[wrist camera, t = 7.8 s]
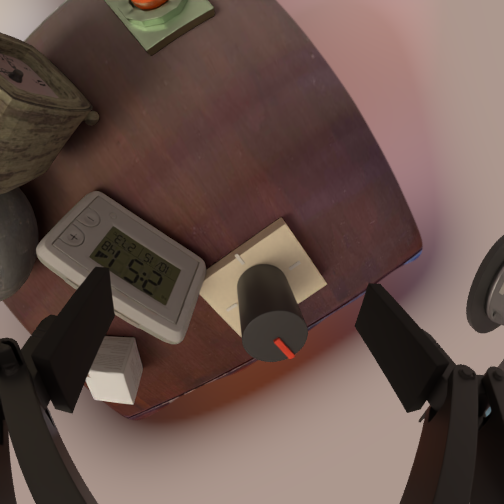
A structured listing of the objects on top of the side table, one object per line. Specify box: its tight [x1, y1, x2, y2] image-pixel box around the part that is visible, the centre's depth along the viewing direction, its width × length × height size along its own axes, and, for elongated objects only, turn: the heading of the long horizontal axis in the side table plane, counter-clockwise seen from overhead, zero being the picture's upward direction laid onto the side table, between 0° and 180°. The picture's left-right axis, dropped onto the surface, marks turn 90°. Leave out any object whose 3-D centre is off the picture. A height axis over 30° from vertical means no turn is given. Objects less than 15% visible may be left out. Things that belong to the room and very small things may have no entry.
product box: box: [86, 336, 143, 405], centre depth 34 cm, size 6×6×7 cm
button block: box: [104, 0, 215, 56], centre depth 20 cm, size 10×8×4 cm
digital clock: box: [36, 191, 206, 344], centre depth 27 cm, size 16×9×11 cm, turn 41°
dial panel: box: [199, 217, 327, 337], centre depth 34 cm, size 12×10×3 cm
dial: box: [237, 264, 308, 362], centre depth 28 cm, size 6×6×9 cm
